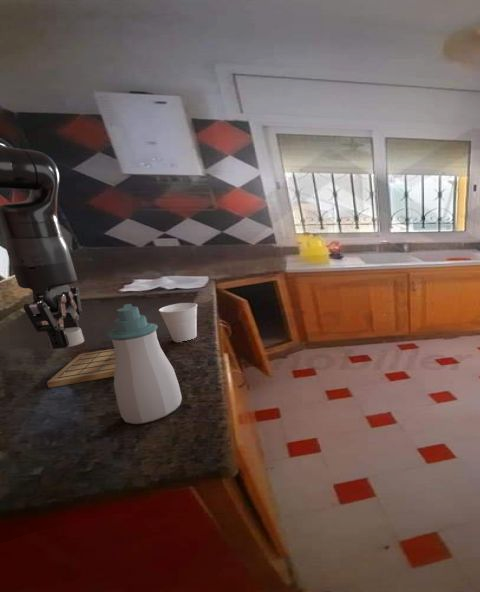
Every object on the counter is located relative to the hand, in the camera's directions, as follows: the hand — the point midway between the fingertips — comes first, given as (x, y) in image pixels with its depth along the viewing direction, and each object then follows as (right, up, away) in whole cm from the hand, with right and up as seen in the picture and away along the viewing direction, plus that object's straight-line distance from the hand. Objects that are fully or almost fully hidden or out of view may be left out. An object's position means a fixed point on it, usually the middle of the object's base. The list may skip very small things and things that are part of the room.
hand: (67, 342), depth 65 cm
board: (-12, -9, +21) cm, 26 cm away
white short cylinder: (0, 0, 0) cm, 0 cm away
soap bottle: (+16, -15, +2) cm, 22 cm away
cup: (-5, -5, +38) cm, 39 cm away
